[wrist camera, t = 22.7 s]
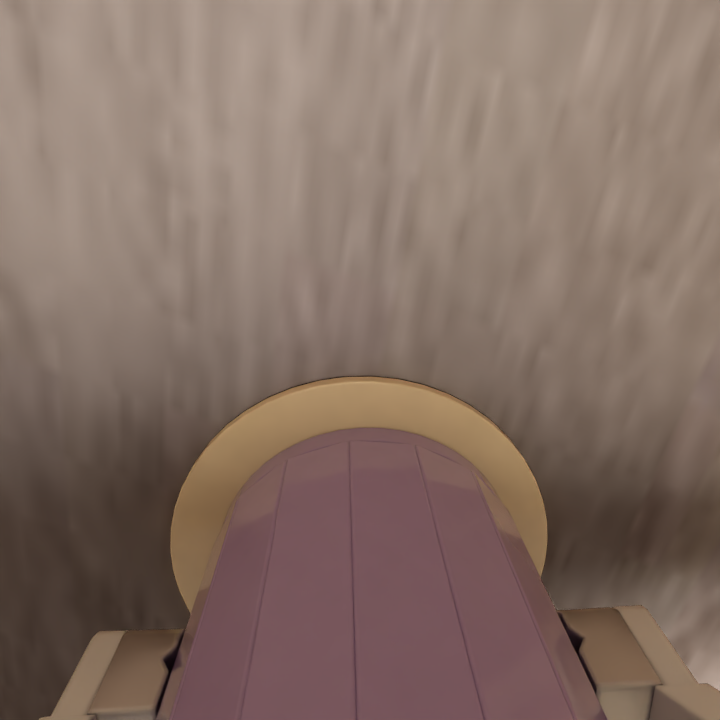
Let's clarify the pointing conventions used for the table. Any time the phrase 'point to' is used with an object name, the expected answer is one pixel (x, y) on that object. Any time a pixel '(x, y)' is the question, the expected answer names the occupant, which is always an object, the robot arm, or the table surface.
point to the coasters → (331, 413)
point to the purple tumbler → (373, 596)
